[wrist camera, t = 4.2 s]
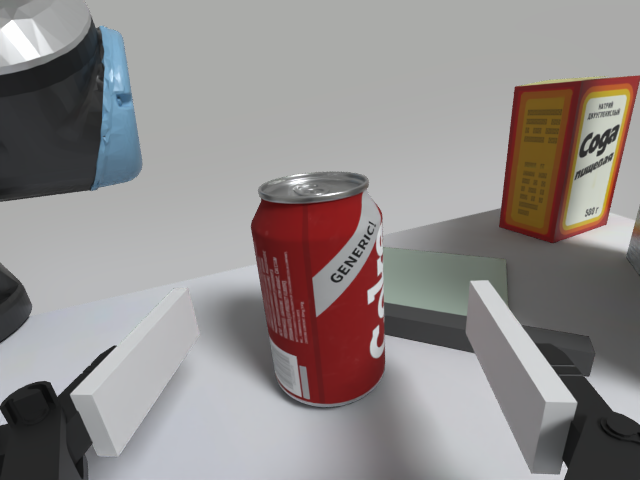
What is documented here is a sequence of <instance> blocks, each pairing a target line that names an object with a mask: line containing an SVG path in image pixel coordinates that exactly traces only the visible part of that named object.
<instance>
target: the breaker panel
mask: <svg viewBox="0 0 640 480" xmlns="http://www.w3.org/2000/svg"><path fill="white" fill-rule="evenodd" d="M626 258H627V259H628V260H629V262H630V263H631V264H632V266H633V267H634V268H635V270H636V271H637V272H638V274H639V275H640V206H639V210H638V214H637V218H636V222H635V225H634V229H633V233H632V237H631V241H630V244H629V248H628V252H627V256H626Z"/></svg>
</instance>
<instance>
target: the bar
mask: <svg viewBox="0 0 640 480" xmlns="http://www.w3.org/2000/svg"><path fill="white" fill-rule="evenodd" d="M466 322H467V316H464V315H458V314H452V313H446V312H440V311H434V310H428V309H422V308H416V307H410V306H404V305H398V304H392V303H386V302H384V334H387V335H392V336H396V337H401V338H406V339H411V340H416V341H420V342H425V343H430V344H435V345H440V346H445V347H449V348H454V349H459V350H464V351H469V352H474V350H473V348H472V345H471V343H470V341H469V339H468V337H467V335H466ZM521 326H522V327H523V329H524V330H525V331H526V333H527V334H528V335H529V337H530V338H531V340H532V341H533V342H534V343H551V344H552V345H554V346H555V347H557V348H558V349H560V350H561V351H563V352H564V353H565V354H566V355H567V356H568V357H569V359H570V360H571V361H572V362H573V363H574V366H575V367H577V368H578V370H579V371H580V372H581V373H582V375H584V376H590V372H591V368H592V364H593V360H594V356H595V352H594V349H593V346H592V344H591V341H590V338H589V336H583V335H577V334H571V333H565V332H559V331H553V330H547V329H542V328H536V327H530V326H524V325H521ZM474 353H475V352H474Z"/></svg>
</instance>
